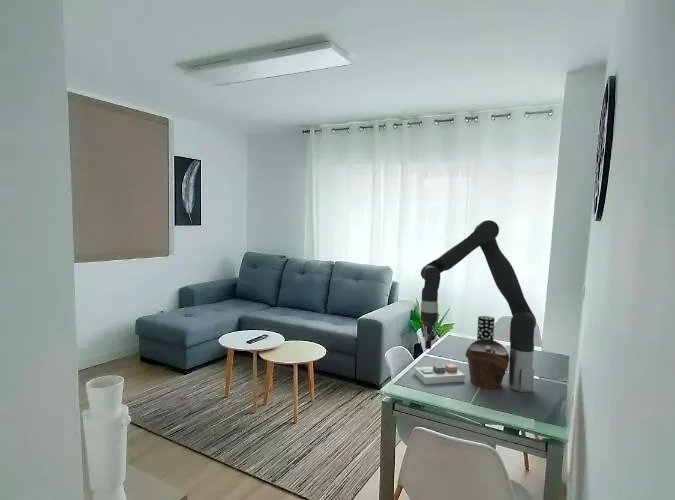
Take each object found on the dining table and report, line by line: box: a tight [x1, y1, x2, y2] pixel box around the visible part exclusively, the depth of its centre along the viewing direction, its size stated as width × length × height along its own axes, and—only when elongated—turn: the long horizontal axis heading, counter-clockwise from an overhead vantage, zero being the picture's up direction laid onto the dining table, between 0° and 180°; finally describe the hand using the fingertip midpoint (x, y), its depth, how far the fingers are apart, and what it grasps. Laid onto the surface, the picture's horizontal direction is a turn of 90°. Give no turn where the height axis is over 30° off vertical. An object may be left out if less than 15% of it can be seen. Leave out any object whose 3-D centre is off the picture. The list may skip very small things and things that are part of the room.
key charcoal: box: [432, 364, 445, 372], centre depth 178 cm, size 4×4×2 cm
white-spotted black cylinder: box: [476, 315, 495, 341], centre depth 213 cm, size 8×8×20 cm
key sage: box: [421, 369, 433, 374], centre depth 177 cm, size 4×4×2 cm
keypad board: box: [413, 365, 466, 385], centre depth 179 cm, size 12×19×3 cm, turn 103°
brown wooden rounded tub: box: [465, 339, 510, 390], centre depth 173 cm, size 18×20×18 cm
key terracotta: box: [444, 363, 458, 372], centre depth 180 cm, size 4×4×2 cm
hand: (428, 348), depth 176 cm, fingers closed
